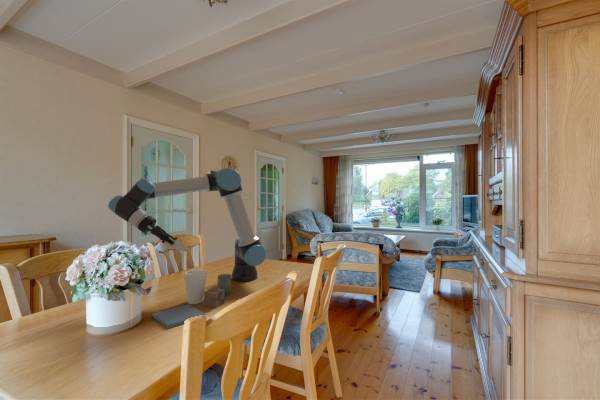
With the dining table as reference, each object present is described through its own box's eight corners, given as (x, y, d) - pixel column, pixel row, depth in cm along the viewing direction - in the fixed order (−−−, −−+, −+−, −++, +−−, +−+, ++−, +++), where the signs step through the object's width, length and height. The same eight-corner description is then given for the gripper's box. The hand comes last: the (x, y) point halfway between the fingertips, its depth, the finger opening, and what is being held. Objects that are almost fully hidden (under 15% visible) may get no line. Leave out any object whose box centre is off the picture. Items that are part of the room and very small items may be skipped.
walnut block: (212, 301, 122) (213, 288, 122) (224, 303, 120) (224, 289, 120) (204, 306, 116) (204, 292, 116) (215, 308, 114) (216, 294, 114)
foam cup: (198, 296, 127) (199, 268, 128) (210, 300, 122) (211, 271, 122) (179, 302, 120) (180, 272, 120) (191, 307, 114) (192, 276, 114)
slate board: (188, 307, 115) (188, 304, 115) (204, 316, 105) (204, 313, 105) (152, 316, 104) (152, 313, 104) (167, 328, 95) (167, 325, 95)
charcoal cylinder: (225, 291, 136) (226, 273, 136) (232, 294, 131) (233, 275, 132) (215, 294, 131) (215, 275, 131) (221, 297, 127) (222, 277, 127)
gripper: (146, 231, 131) (182, 256, 132) (126, 225, 107) (171, 255, 109) (157, 218, 133) (193, 243, 135) (139, 210, 109) (183, 240, 111)
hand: (183, 249), depth 122 cm, fingers open, 13 cm apart
